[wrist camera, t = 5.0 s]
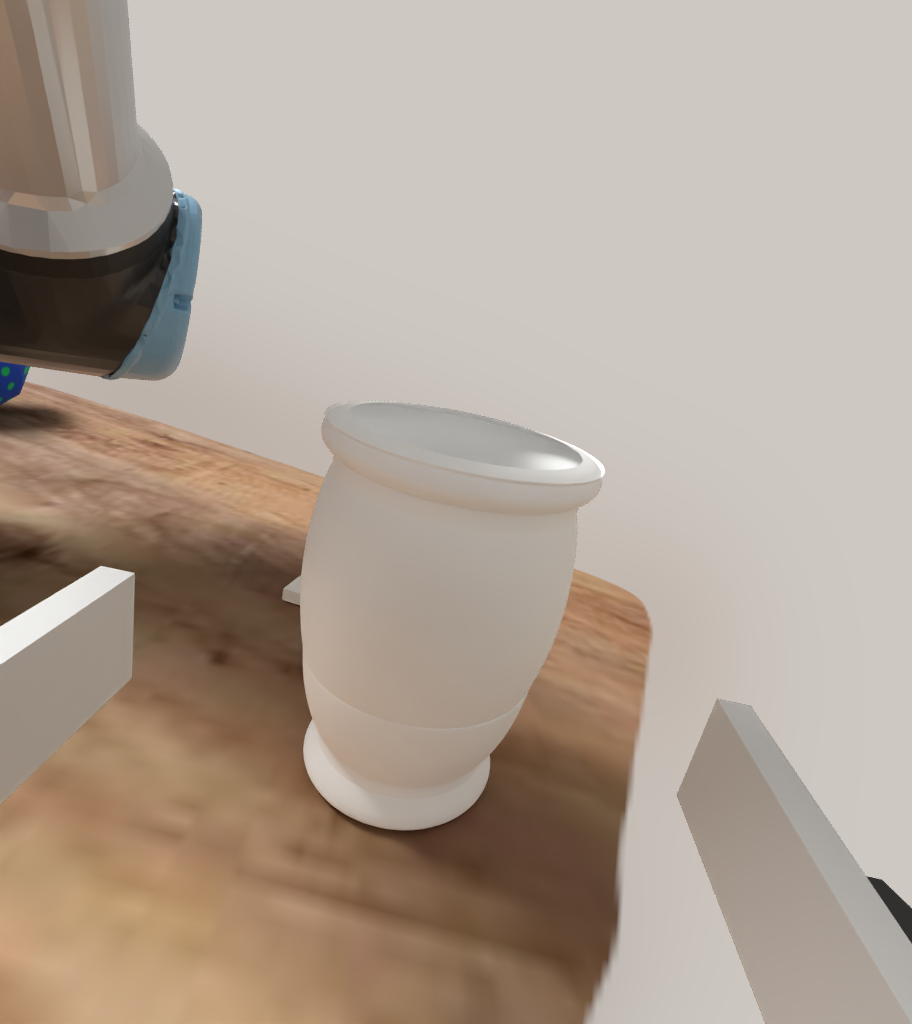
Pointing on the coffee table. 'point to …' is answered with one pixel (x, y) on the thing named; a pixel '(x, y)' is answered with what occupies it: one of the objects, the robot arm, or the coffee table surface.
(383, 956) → the coffee table surface
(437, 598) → the jar
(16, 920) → the coffee table surface
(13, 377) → the mushroom
